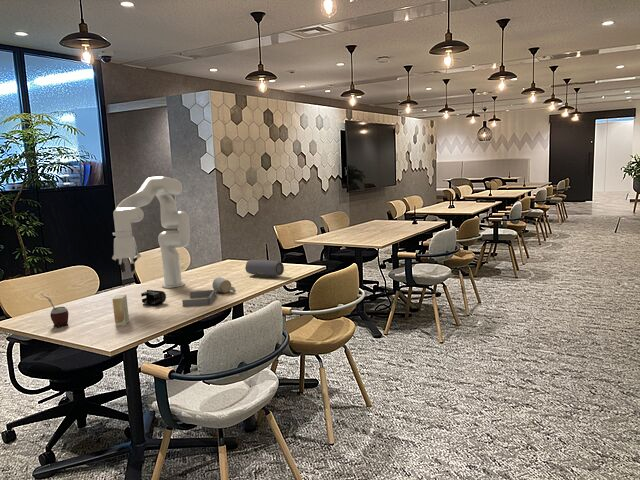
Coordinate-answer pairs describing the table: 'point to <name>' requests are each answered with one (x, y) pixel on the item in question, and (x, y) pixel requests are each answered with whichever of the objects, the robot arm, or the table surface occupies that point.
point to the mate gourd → (59, 315)
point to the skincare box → (120, 310)
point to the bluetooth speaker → (264, 268)
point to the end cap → (153, 297)
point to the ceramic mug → (222, 285)
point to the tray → (200, 301)
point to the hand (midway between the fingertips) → (128, 271)
